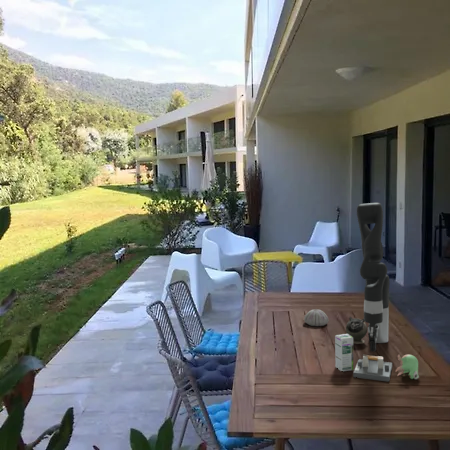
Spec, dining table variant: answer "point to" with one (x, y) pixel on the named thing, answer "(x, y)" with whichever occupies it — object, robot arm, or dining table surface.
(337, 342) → the syrup box
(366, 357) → the breaker paddles
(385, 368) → the breaker panel
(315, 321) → the sea urchin shell
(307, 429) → the dining table surface
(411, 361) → the frog
